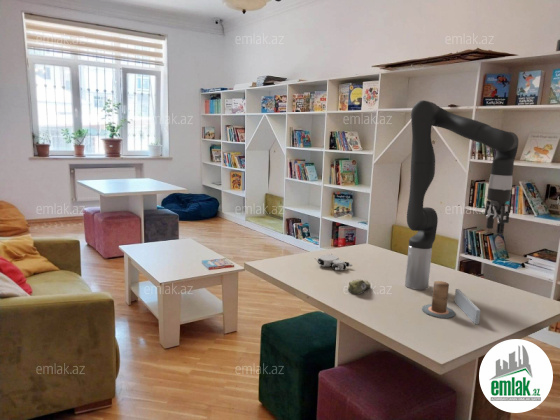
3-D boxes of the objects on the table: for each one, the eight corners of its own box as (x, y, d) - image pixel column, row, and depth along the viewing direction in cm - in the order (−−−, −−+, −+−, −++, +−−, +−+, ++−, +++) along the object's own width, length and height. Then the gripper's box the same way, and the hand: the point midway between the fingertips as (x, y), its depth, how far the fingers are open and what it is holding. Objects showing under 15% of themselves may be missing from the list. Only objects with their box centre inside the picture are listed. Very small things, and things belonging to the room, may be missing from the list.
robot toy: (353, 271, 198) (329, 260, 209) (354, 261, 197) (330, 252, 208) (335, 276, 190) (312, 265, 201) (337, 266, 189) (313, 256, 200)
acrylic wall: (454, 301, 163) (455, 288, 162) (457, 301, 163) (458, 289, 162) (475, 324, 143) (476, 310, 142) (478, 324, 143) (480, 310, 142)
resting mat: (418, 304, 158) (418, 303, 158) (448, 306, 157) (448, 304, 157) (427, 317, 147) (427, 315, 147) (459, 319, 147) (459, 317, 146)
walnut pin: (429, 306, 155) (432, 280, 153) (443, 307, 154) (446, 281, 153) (433, 312, 150) (436, 285, 148) (448, 313, 150) (450, 286, 148)
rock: (367, 288, 176) (343, 284, 176) (370, 274, 175) (347, 270, 175) (373, 299, 166) (348, 294, 165) (377, 284, 165) (352, 279, 164)
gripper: (481, 184, 161) (476, 226, 164) (498, 189, 147) (492, 235, 150) (501, 185, 161) (496, 227, 164) (520, 190, 147) (514, 236, 150)
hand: (494, 231), depth 157 cm, fingers open, 8 cm apart
